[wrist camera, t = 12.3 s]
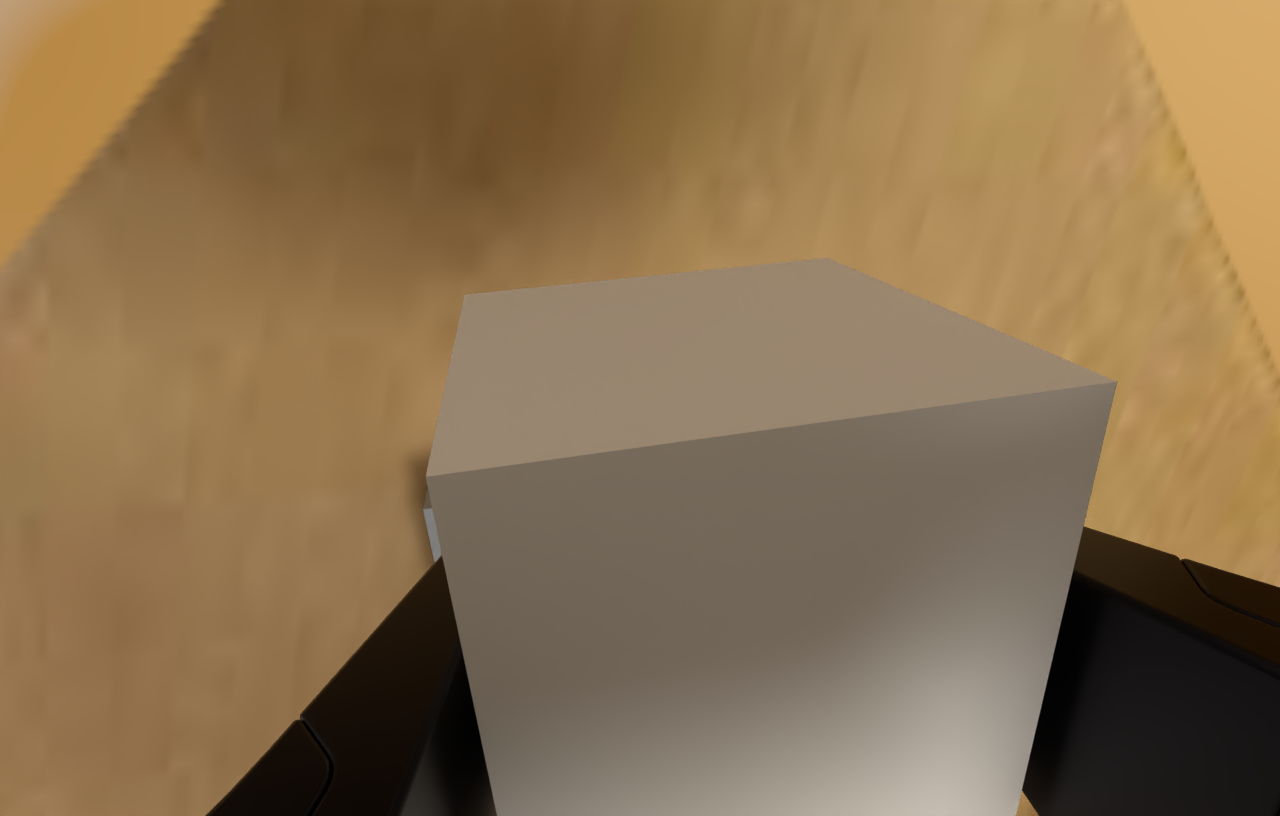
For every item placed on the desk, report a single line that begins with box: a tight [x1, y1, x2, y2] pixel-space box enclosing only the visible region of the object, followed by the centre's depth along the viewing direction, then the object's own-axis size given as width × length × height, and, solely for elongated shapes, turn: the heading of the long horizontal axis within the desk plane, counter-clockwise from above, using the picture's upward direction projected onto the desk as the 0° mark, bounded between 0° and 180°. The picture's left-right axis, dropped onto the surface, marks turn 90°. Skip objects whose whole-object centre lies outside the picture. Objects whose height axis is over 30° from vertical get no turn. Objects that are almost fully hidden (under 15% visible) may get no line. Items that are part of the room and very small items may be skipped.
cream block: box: [426, 258, 1117, 816], centre depth 8 cm, size 5×5×5 cm
